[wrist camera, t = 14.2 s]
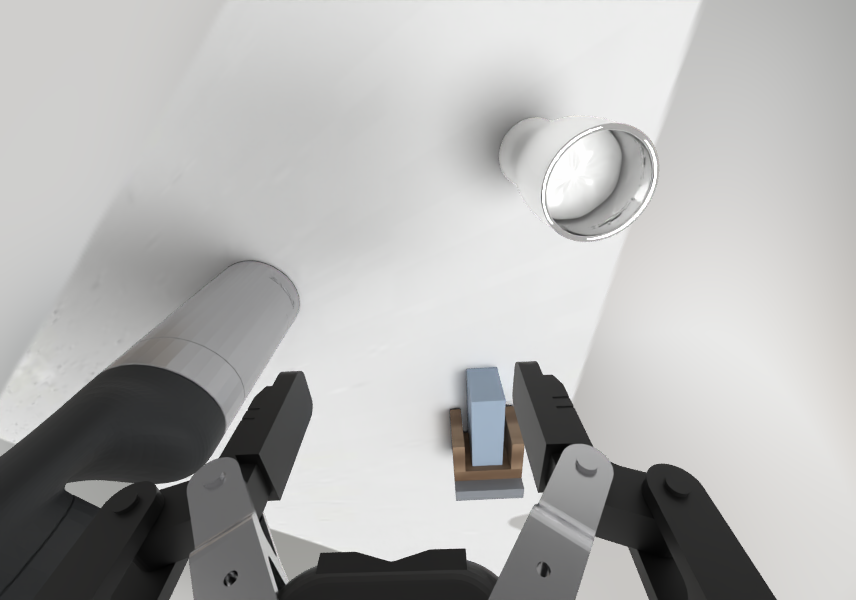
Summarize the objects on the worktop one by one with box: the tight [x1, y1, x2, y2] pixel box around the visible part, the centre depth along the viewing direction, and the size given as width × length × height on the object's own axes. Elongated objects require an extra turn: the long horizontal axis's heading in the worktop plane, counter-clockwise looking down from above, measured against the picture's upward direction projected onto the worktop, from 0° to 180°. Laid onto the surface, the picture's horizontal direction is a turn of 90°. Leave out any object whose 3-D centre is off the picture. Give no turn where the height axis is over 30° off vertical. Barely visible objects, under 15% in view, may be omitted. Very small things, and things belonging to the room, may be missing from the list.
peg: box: [467, 367, 506, 466], centre depth 46 cm, size 12×4×6 cm, turn 4°
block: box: [450, 406, 524, 481], centre depth 48 cm, size 7×9×6 cm
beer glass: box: [499, 116, 659, 242], centre depth 26 cm, size 7×7×15 cm
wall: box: [452, 449, 524, 501], centre depth 50 cm, size 2×9×8 cm, turn 94°
